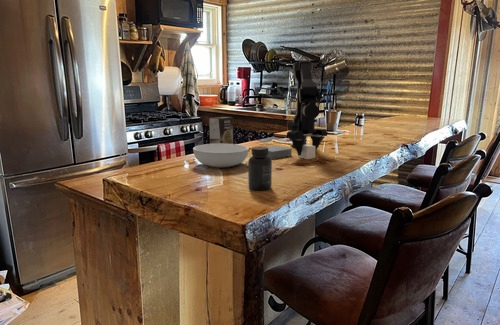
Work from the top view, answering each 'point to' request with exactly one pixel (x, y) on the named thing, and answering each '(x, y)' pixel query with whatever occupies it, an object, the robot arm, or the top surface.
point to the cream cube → (308, 152)
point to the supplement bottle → (260, 169)
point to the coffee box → (221, 130)
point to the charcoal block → (278, 152)
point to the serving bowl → (220, 154)
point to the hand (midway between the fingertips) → (306, 154)
